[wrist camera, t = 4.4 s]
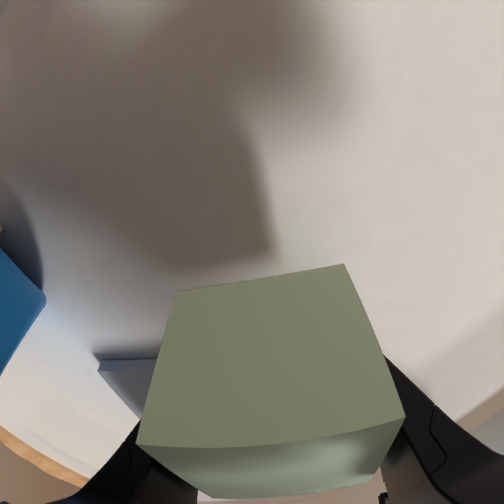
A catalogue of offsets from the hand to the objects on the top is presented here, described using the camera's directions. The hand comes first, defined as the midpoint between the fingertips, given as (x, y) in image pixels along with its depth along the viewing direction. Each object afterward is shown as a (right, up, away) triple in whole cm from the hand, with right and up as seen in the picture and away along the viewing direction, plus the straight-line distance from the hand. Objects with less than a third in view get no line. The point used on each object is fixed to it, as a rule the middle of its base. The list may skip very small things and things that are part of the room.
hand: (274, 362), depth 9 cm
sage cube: (0, +1, +1) cm, 1 cm away
